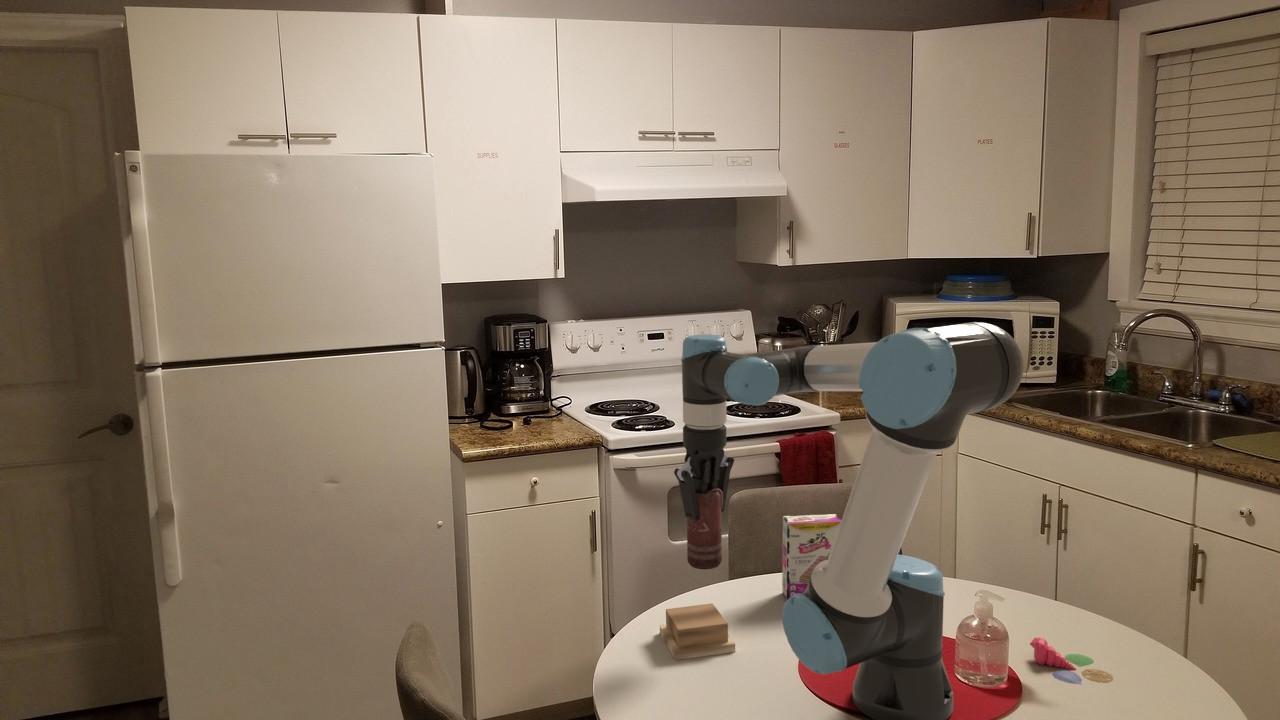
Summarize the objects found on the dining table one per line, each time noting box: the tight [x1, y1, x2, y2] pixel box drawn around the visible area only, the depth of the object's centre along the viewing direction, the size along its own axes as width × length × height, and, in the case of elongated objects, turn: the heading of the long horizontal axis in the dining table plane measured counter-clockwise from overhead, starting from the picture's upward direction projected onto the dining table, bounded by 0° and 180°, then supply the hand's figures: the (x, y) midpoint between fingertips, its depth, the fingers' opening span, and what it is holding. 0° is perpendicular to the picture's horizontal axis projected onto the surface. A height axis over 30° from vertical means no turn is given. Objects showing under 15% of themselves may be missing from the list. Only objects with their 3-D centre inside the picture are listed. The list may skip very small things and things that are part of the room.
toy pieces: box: [1029, 637, 1114, 686], centre depth 152 cm, size 12×11×4 cm
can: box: [686, 487, 723, 570], centre depth 162 cm, size 6×6×14 cm
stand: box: [659, 603, 736, 661], centre depth 166 cm, size 11×11×5 cm
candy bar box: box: [781, 513, 842, 601], centre depth 184 cm, size 11×5×16 cm, turn 94°
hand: (705, 553), depth 162 cm, fingers closed
